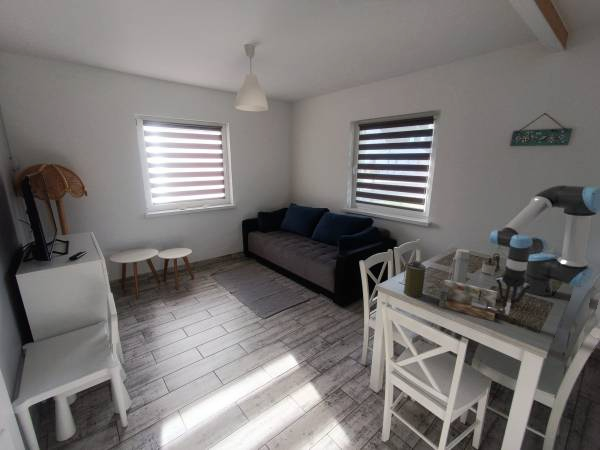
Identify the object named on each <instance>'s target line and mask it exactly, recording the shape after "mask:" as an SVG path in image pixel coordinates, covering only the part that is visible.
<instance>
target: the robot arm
mask: <svg viewBox="0 0 600 450" xmlns="http://www.w3.org/2000/svg"><path fill="white" fill-rule="evenodd" d="M552 208H560V209H563V214H564V215H565V216H566V221H565V230H564V237H563V242H562V243H563V245H562V250H561V251H562V253H561V256H560V257H558V258H557V255H555V254H552V253H545V252H546V250H547V249H548V242H547V241H546V240H545V239H544V238H542V237H538V236H536V237H535V236H534V237H531V236H528V235H525V234H524V235H523V233H524V232H525V231H526V230H527V229H528V228H529V227H530V226H531V225H533V223H535V222H536V221H537V219H539V218H540V217H541V216H542V215H543V214H544V213H545V212H547V211H550V210H551V209H552ZM599 212H600V188H598V187H591V186H576V185H575V186H574V185H556V186H551V187H549V188H546V189H544V190H542V191H540V192H538V193H536V194H535V195H534V196H533V197H532V198H531V199H530V201H529V203H528V204H527V206H525V207H524V208H523V209H522V210H521V211H520V212H519V213H518V214H517V215H516V216H515V217H513V219H512V220H511V221H510V222H509V223H508V224H506V225H505V226H504V227H503V228H502V229H501V230H500V229H494V230H492V231H491V233H490V235H489V242H490V243H492V244H494V245H495V246H496V245H497V246H501V247H504V248H509V249H508V254H507V259H506V262H505V263H506V265H505V269H504V273H503V275H502V276H501V277H496V283H497V284H498V293H499V298H500V300H503V303H502V308H505V315H507V316H509V314H510V309H512V310H513V308H514V305H515V303H517V304H519V303H520V302H521V300H522V299H523V297H524V295H525V294H526V293H527V294H532V295H536V296H542V297H550V296H552V293H553V288H552V287H553V286H552V282H551V279H552V280H554V281H557V282H559V283H560V282H561V283H563V284H567V285H569V286H573V287H577V288H580V287H583V286H585V285H586V284H587V283H588V282H589V281H590V279H591V278H592V276H593V272H594V271H593V268H591V267H590V266H589V262H588V261H587V260H586V259H585V258H586V252H587V245H588V241H589V240H588V239H589V233H590V227H591V222H592V217H595V216H597V213H599ZM502 283H504V284H505V285H506V286H505V291H504V292H503V284H502ZM511 287H512V292H511V297H510V299H509V296H510V295H509V294H510V290H511ZM518 288H519V289H520V291H519V293H518V295H517V291H518ZM503 293H504V294H503Z"/></svg>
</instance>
